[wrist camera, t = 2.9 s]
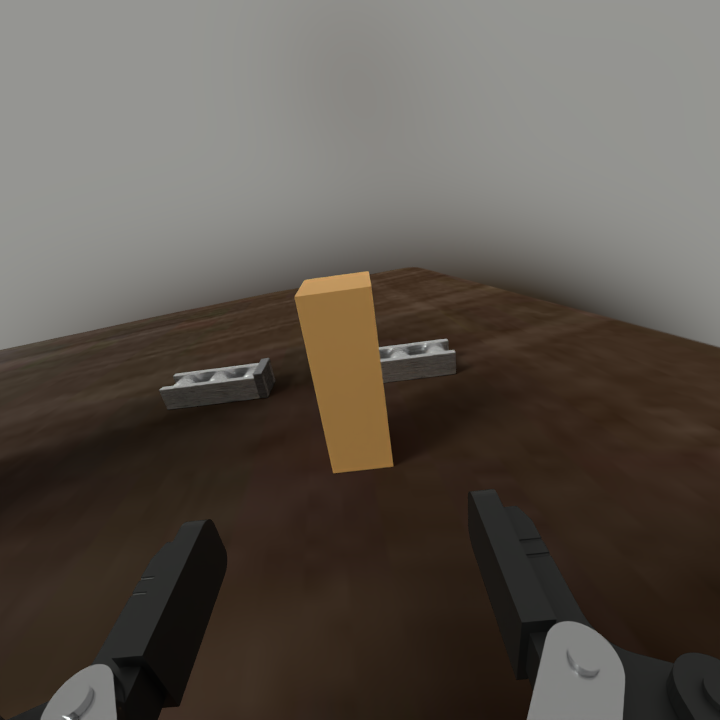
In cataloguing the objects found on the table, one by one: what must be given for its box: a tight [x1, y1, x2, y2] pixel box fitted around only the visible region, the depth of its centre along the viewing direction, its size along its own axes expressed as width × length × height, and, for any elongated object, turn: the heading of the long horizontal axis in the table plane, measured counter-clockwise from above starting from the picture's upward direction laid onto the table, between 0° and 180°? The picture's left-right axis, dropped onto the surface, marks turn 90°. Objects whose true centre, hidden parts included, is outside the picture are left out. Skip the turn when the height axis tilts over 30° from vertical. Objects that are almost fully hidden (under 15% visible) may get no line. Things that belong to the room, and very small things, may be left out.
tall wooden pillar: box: [295, 271, 393, 473], centre depth 23 cm, size 4×5×12 cm
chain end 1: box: [159, 358, 275, 410], centre depth 35 cm, size 10×3×3 cm, turn 91°
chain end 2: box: [379, 339, 456, 383], centre depth 34 cm, size 10×3×3 cm, turn 91°
